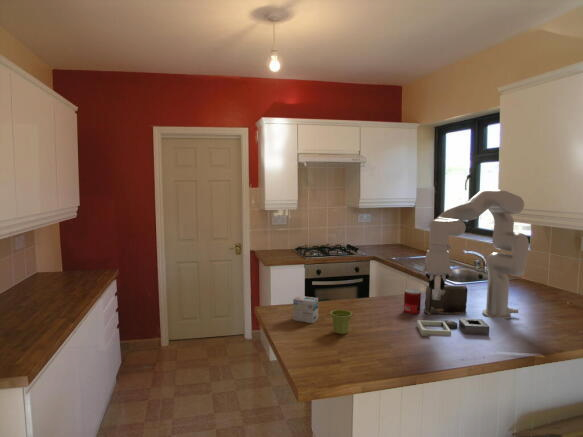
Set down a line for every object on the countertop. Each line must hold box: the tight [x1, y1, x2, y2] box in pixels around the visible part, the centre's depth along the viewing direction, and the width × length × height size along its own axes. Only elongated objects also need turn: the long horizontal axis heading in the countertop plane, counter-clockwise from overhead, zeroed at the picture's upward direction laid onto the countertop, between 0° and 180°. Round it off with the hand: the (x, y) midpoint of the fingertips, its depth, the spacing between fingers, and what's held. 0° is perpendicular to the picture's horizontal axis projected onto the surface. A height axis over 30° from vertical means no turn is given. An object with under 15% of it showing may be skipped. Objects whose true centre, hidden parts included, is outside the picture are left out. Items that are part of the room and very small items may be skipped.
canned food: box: [403, 288, 422, 315], centre depth 204 cm, size 8×8×11 cm
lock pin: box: [432, 274, 442, 300], centre depth 176 cm, size 4×4×11 cm
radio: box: [423, 284, 468, 316], centre depth 203 cm, size 23×9×15 cm, turn 95°
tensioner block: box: [458, 317, 490, 337], centre depth 176 cm, size 10×9×5 cm
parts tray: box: [416, 319, 452, 337], centre depth 178 cm, size 12×12×3 cm
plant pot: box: [330, 309, 353, 335], centre depth 177 cm, size 9×9×9 cm
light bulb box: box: [292, 295, 319, 324], centre depth 192 cm, size 11×7×11 cm, turn 65°
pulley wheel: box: [440, 319, 459, 330], centre depth 182 cm, size 7×7×3 cm
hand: (436, 288), depth 176 cm, fingers closed on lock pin, 3 cm apart
